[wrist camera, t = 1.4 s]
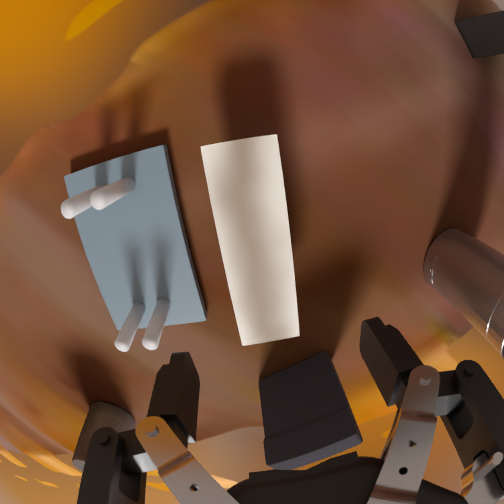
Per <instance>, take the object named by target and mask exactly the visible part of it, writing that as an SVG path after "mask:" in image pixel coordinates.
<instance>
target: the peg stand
mask: <svg viewBox="0 0 504 504" xmlns="http://www.w3.org/2000/svg"><path fill="white" fill-rule="evenodd" d="M64 178H65V183H66V187H67V191H68V195H69V199H67V200H65V201H63V203H62V204H61V212H62V214H63V216H64V217H65V218H68V219H70V218H72V217H75V221H76V224H77V227H78V231H79V234H80V237H81V240H82V243H83V246H84V249H85V252H86V255H87V258H88V261H89V263H90V266H91V269H92V271H93V274H94V277H95V279H96V282H97V284H98V287H99V289H100V292H101V294H102V296H103V299H104V301H105V303H106V306H107V308H108V310H109V312H110V315H111V317H112V319H113V321H114V323H115V325H116V327H117V330H120V332H119V334H118V336H117V338H116V340H115V343H114V344H115V347H116V348H117V349H118V350H120V351H123V352H126V351H128V350H129V348H130V345H131V343H132V340H133V338H134V336H135V333H136V331H137V329H138V328H147V329H146V332H145V335H144V337H143V340H142V344H143V346H144V347H145V348H147V349H149V350H154V349H156V348H157V347H158V344H159V341H160V337H161V334H162V331H163V328H164V326H167V325H176V324H184V323H192V322H200V321H206V318H207V311H206V308H205V305H204V301H203V297H202V294H201V290H200V287H199V283H198V279H197V276H196V272H195V268H194V264H193V260H192V257H191V253H190V249H189V245H188V241H187V237H186V233H185V228H184V224H183V220H182V216H181V211H180V207H179V202H178V198H177V193H176V189H175V184H174V179H173V175H172V170H171V165H170V160H169V155H168V149H167V145H161V146H157V147H153V148H149V149H146V150H142V151H138V152H135V153H131V154H128V155H125V156H121V157H118V158H115V159H112V160H109V161H106V162H103V163H100V164H97V165H94V166H91V167H88V168H85V169H82V170H80V171H77V172H74V173H72V174H69V175H66V176H64Z"/></svg>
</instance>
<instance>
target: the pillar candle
mask: <svg viewBox="0 0 504 504" xmlns="http://www.w3.org/2000/svg"><path fill="white" fill-rule="evenodd" d="M102 427H110V428H113V429H114V430H115V431H116V432H117V433H119V432H124V431H128V430H132V429H134V428H135V420H134V418H133V417H132V416H131V415H130V414H129V413H128V412H126V411H125V410H123V409H122V408H119V407H117V406H115V405H112V404H109V403H104V402H94V403H92V404H91V405H90V407H89V412H88V414H87V417H86V419H85V422H84V425H83V428H82V431H81V434H80V436H79V439H78V443H77V446H76V449H75V452H74V456H73V459H72V463H73V465H74V466H75V467H77V468H78V469H79V470H81V471H82V472H83V469H84V464H85V460H86V456H87V451H88V447H89V443H90V439H91V436H92V434H93V433H94V432H95V431H96V430H97V429H99V428H102Z"/></svg>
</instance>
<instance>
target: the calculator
mask: <svg viewBox="0 0 504 504" xmlns="http://www.w3.org/2000/svg"><path fill="white" fill-rule="evenodd" d="M259 391H260V399H261V408H262V416H263V425H264V433H265V439H264V450H265V459H266V464H267V465H268V466H270V467H272V468H273V469H278V470H291V469H295V468H298V467H301V466H304V465H307V464H310V463H313V462H316V461H319V460H322V459H324V458H327V457H330V456H332V455H335V454H337V453H340V452H342V451H345V450H347V449H350V448H352V447H354V446H357V445H358V444H361V443H362V441H363V439H362V436H361V433H360V431H359V428H358V426H357V423H356V420H355V418H354V415H353V413H352V410H351V407H350V405H349V402H348V400H347V397H346V395H345V392H344V390H343V387H342V385H341V382H340V380H339V377H338V375H337V372H336V370H335V367H334V365H333V362H332V361H331V359H330V357H329V355H328V354H327V352H326V351H322V352H320V353H318V354H316V355H314V356H312V357H310V358H308V359H306V360H304V361H301V362H299V363H297V364H295V365H293V366H291V367H288V368H286V369H284V370H282V371H279V372H277V373H275V374H272V375H270V376H268V377H265V378H263V379H261V380H259Z"/></svg>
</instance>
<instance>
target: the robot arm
mask: <svg viewBox="0 0 504 504" xmlns="http://www.w3.org/2000/svg"><path fill="white" fill-rule="evenodd" d="M424 276H425V278H426V281H427V282H428V283H429V284H430V285H431V286H432V287H433V288H434V289H435V290H436V291H437V292H439V293H440V294H441V295H442V296H443V297H444V298H445V299H446V300H447V301H448V302H449V303H450V304H451V305H452V306H453V307H454V308H456V309H457V310H458V311H459V312H460V313H461V314H462V315H463V316H464V317H465V318H466V319H467V320H468V321H469V322H470V323H471V324H472V325H473V326H474V327H475V328H476V329H477V330H478V331H479V332H480V333H481V334H482V335H483V336H484V337H485V338H486V339H487V340H488V341H489V342H490V343H491V345H492V346H493V347H494V348H495V349H496V350H497V351H498V352H499V353H500V354H501V356H502V357H503V358H504V255H503V254H501V253H500V252H498V251H496V250H495V249H493V248H491V247H490V246H488V245H486V244H485V243H483V242H481V241H479V240H478V239H476V238H474V237H472V236H471V235H469V234H466V233H464V232H462V231H460V230H459V229H455V228H451V229H447V230H445V231H443V232H442V233H441V234H439V235H438V236H437V238H436V239H435V240H434V241H433V243H432V244H431V246H430V248H429V250H428V252H427V255H426V257H425V262H424ZM360 352H361V355H362V358H363V360H364V361H365V363H366V365H367V367H368V369H369V371H370V373H371V375H372V377H373V379H374V381H375V383H376V384H377V386H378V388H379V390H380V392H381V394H382V396H383V398H384V400H385V402H386V404H387V406H388V407H389V406H391V405H394V404H396V406H397V408H398V409H397V412H396V415H395V418H394V421H393V425H392V427H391V430H390V433H389V436H388V439H387V442H386V444H385V447H384V449H383V451H382V454H381V456H380V458H374V457H363V456H361V457H358V455H357V452H356V451H355V452H352V453H348V454H345V455H341V456H338V457H334V458H330V459H328V460H326V461H324V462H322V463H320V464H318V465H316V466H314V467H311V468H309V469H307V470H278V469H275V470H268V471H260V472H251V473H249V479H246V480H244V481H241V482H239V483H237V484H236V485H234V486H232V487H231V488H230V489H228V490H227V491H225V490H224V489H223V488H222V487H221V485H220V484H219V483H218V482H217V481H216V480H215V479H214V478H213V477H212V476H211V475H210V474H209V473H208V472H207V471H206V470H205V469H204V468H203V466H202V465H201V464H200V463H199V462H198V461H197V460H196V459H195V457H194V456H193V455H192V454H191V453H190V452H189V451H188V450H187V445H188V443H195V442H196V428H197V414H198V401H199V389H200V381H199V376H198V373H197V370H196V368H195V365H194V363H193V360H192V358H191V356H190V353H189V352H180V353H172V355H171V359H170V363H169V364H167V365H163V366H162V367H161V369H160V370H159V371H158V373H157V376H156V380H155V384H154V388H153V389H154V391H153V392H152V397H151V401H150V405H149V410H148V414H147V417H146V418H144V419H142V420H141V421H140V422H139V423H138V425H137V426H136V428H135V429H132V430H128V431H124V432H119V433H117V432H116V431H115V430H114V429H113V428H110V427H102V428H99V429H97V430H96V431H95V432H94V433H93V434H92V436H91V439H90V443H89V447H88V451H87V456H86V460H85V464H84V469H83V474H82V479H81V484H80V489H79V495H78V500H77V504H145V488H146V475H147V471H152V470H156V469H158V471H159V472H158V474H159V475H160V477H161V478H162V480H163V481H164V483H165V484H166V485H167V487H168V488H169V489H170V491H171V492H172V493H173V495H174V496H175V497H176V498H177V500H178V501H179V502H180V503H181V504H495V503H496V502H498V501H500V500H501V499H503V498H504V399H503V398H502V396H501V395H500V393H499V392H498V390H497V389H496V387H495V386H494V384H493V383H492V382H491V380H490V379H489V377H488V376H487V374H486V373H485V372H484V370H483V369H482V368H481V366H480V365H479V364H478V363H476V362H475V361H472V360H464V361H462V362H460V363H459V364H458V365H457V367H456V370H451V371H444V372H438V371H437V370H436V369H435V368H433V367H431V366H428V365H424V364H423V363H422V362H421V360H420V359H419V358H418V356H417V355H416V353H415V352H414V351H413V349H412V348H411V346H410V345H409V344H408V342H407V341H406V340H405V338H403V336H402V334H401V333H400V332H399V330H398V329H396V328H395V327H393V326H391V325H390V324H389V325H386V326H385V325H384V324H383V322H382V321H381V320H380V318H379V317H375V318H371V319H367V320H364V321H362V325H361V336H360ZM436 416H440V417H441V419H442V421H443V423H444V425H445V427H446V429H447V431H448V433H449V435H450V437H451V440H452V442H453V444H454V446H455V448H456V450H457V452H458V455H459V457H460V459H461V461H462V464H463V466H464V468H465V470H464V472H463V473H462V476H461V488H462V491H461V495H460V494H458V493H456V492H453V491H450V490H448V489H445V488H443V487H440V486H438V485H436V484H433V483H431V482H429V481H426V480H424V479H422V477H423V474H424V471H425V468H426V464H427V461H428V457H429V454H430V450H431V446H432V441H433V437H434V432H435V428H436V423H437V417H436Z"/></svg>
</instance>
